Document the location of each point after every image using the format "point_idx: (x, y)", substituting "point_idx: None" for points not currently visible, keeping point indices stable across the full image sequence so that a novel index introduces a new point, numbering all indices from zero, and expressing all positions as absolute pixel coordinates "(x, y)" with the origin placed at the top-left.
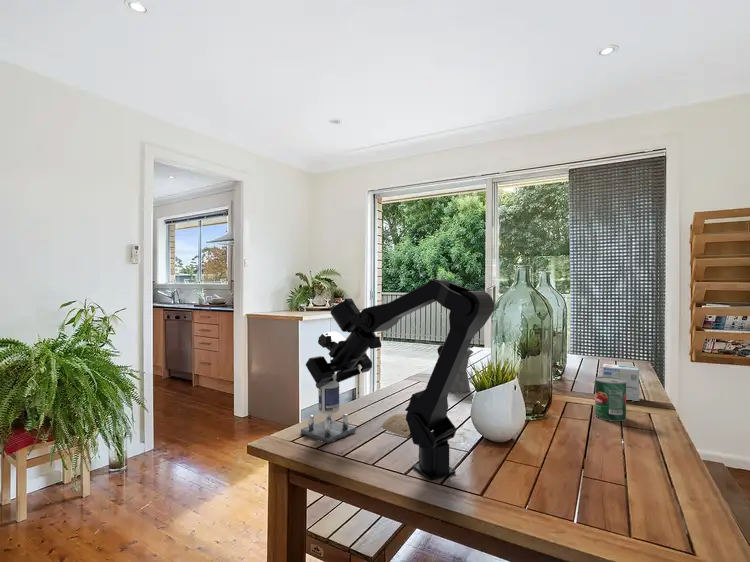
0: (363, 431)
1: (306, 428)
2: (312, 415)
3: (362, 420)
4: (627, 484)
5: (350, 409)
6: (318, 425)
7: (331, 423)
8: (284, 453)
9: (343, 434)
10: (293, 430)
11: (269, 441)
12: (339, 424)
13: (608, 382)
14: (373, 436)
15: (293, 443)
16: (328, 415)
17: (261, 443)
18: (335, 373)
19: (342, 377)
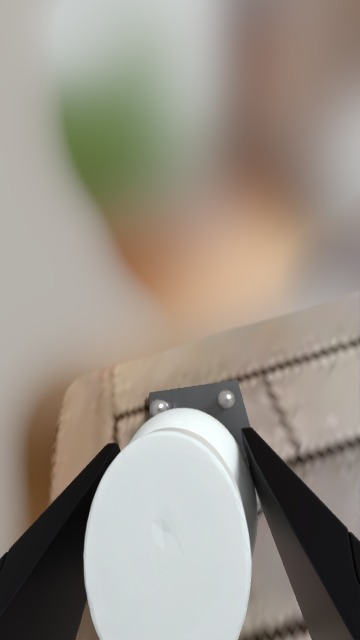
0: None
1: (160, 398)
2: (158, 412)
3: (334, 425)
4: None
5: (332, 327)
6: (191, 400)
7: (226, 411)
8: (62, 474)
9: None
10: (154, 365)
11: (91, 386)
12: (241, 437)
13: None
14: None
15: (109, 434)
16: (220, 405)
17: (78, 385)
18: (227, 628)
19: (314, 631)
